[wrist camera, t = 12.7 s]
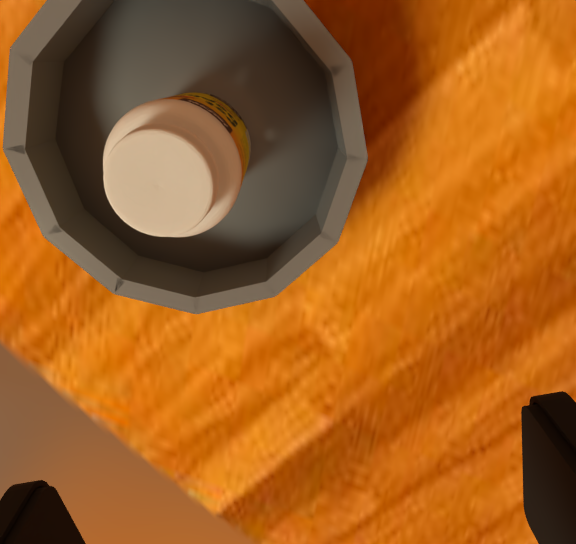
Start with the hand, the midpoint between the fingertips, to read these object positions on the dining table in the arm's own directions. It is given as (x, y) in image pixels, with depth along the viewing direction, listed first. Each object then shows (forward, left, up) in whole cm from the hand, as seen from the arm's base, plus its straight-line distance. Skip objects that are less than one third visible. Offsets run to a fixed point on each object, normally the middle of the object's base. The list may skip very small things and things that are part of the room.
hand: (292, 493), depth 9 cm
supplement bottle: (+3, -5, -20) cm, 21 cm away
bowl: (+3, -5, -21) cm, 22 cm away
